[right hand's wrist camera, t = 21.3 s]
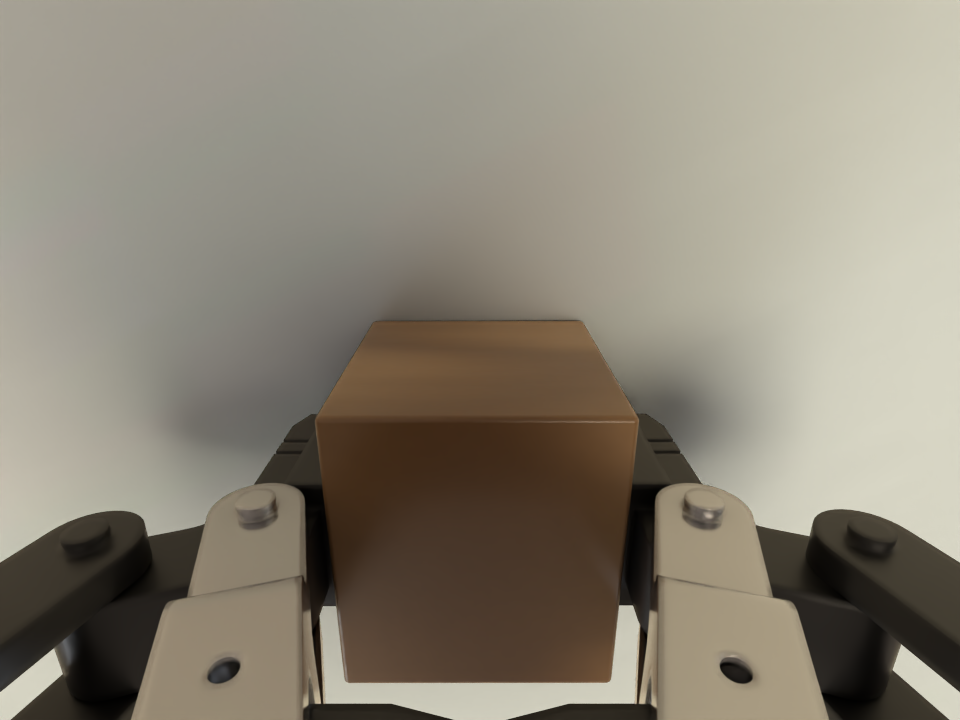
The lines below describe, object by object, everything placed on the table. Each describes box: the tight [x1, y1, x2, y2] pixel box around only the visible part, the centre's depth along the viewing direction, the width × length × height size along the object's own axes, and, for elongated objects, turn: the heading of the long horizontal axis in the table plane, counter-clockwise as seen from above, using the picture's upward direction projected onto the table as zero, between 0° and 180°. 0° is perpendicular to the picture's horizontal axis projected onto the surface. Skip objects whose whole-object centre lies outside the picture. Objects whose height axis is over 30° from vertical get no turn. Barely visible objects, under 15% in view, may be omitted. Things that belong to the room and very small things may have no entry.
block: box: [315, 321, 639, 683], centre depth 10 cm, size 4×5×4 cm
